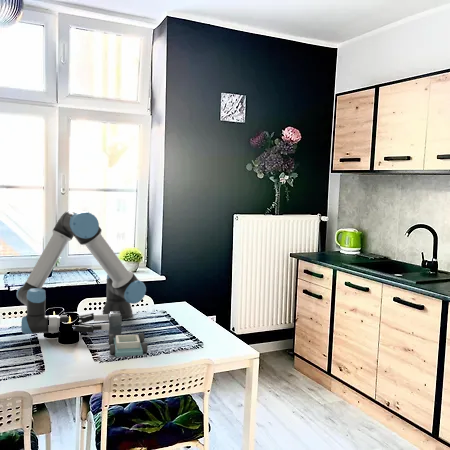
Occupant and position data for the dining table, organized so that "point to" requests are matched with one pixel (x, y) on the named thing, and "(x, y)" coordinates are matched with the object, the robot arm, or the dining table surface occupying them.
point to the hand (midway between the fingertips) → (108, 321)
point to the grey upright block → (115, 323)
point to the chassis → (127, 345)
